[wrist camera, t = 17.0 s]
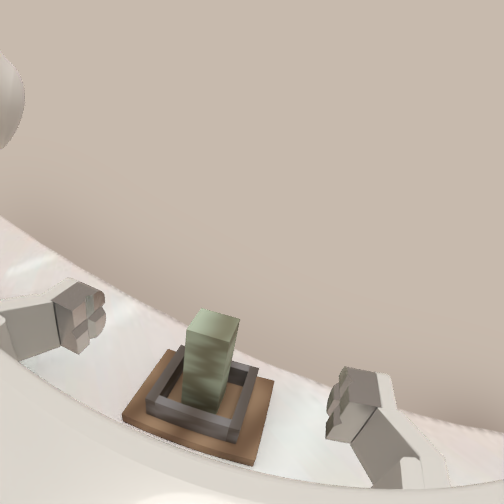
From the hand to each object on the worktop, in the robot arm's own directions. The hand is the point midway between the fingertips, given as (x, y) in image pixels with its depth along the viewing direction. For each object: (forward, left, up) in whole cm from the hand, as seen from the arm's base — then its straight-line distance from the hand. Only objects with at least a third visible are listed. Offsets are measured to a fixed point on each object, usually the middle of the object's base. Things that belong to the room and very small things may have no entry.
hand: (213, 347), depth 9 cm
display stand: (-4, +18, -26) cm, 32 cm away
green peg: (-4, +18, -24) cm, 31 cm away
